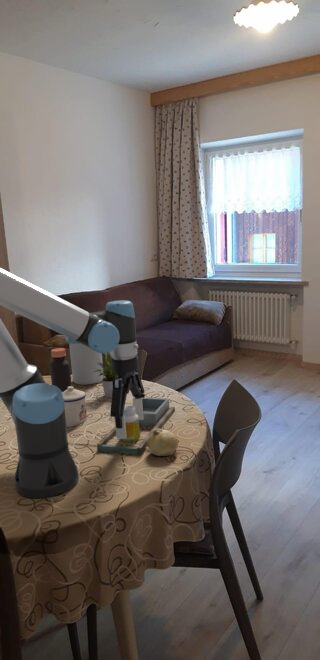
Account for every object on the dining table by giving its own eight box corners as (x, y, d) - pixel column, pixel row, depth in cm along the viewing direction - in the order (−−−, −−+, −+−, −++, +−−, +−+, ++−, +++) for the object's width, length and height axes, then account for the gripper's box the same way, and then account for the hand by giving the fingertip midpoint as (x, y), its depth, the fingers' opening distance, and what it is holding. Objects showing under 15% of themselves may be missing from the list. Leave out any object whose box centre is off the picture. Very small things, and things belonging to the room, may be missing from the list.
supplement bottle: (139, 443, 142) (136, 411, 140) (120, 444, 143) (117, 411, 141) (140, 436, 148) (138, 404, 146) (122, 436, 148) (120, 405, 146)
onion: (164, 444, 141) (162, 420, 140) (184, 452, 135) (183, 427, 134) (142, 454, 136) (140, 429, 134) (162, 463, 130) (161, 437, 129)
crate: (156, 426, 152) (155, 414, 151) (126, 424, 155) (125, 412, 154) (169, 410, 165) (169, 398, 164) (142, 409, 168) (141, 397, 167)
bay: (141, 454, 135) (141, 447, 135) (97, 450, 139) (96, 444, 139) (175, 412, 165) (174, 406, 164) (137, 410, 169) (137, 404, 168)
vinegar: (73, 406, 176) (67, 351, 172) (53, 408, 175) (47, 352, 171) (73, 400, 183) (68, 346, 179) (54, 402, 182) (48, 348, 178)
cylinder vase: (94, 374, 215) (89, 316, 210) (109, 380, 205) (104, 319, 200) (67, 381, 208) (61, 321, 203) (81, 387, 198) (75, 324, 193)
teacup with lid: (86, 426, 158) (82, 390, 155) (57, 428, 158) (53, 392, 155) (90, 412, 169) (87, 379, 167) (63, 414, 169) (60, 381, 167)
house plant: (86, 392, 191) (82, 350, 188) (121, 386, 196) (118, 345, 193) (97, 403, 178) (93, 358, 175) (133, 396, 183) (130, 352, 180)
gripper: (119, 369, 128) (126, 447, 132) (151, 345, 151) (156, 413, 155) (92, 368, 130) (100, 445, 134) (128, 345, 153) (134, 411, 157)
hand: (130, 428), depth 145 cm, fingers open, 13 cm apart
